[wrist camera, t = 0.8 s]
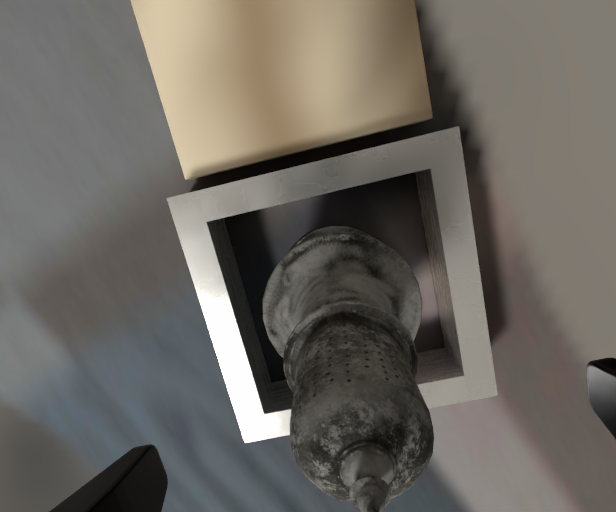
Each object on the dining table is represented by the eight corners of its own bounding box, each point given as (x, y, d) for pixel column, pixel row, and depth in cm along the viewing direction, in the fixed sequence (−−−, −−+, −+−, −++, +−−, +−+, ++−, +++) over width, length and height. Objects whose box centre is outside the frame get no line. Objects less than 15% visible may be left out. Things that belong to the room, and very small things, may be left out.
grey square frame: (437, 132, 16) (458, 126, 13) (474, 364, 18) (497, 395, 16) (188, 193, 17) (166, 198, 14) (254, 407, 19) (244, 443, 17)
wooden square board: (377, -167, 14) (383, -199, 12) (424, 121, 16) (433, 117, 15) (115, -85, 14) (97, -107, 13) (194, 178, 17) (185, 179, 15)
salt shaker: (281, 209, 17) (196, 310, 5) (413, 228, 17) (627, 372, 5) (266, 332, 18) (171, 632, 6) (388, 349, 18) (512, 678, 7)
